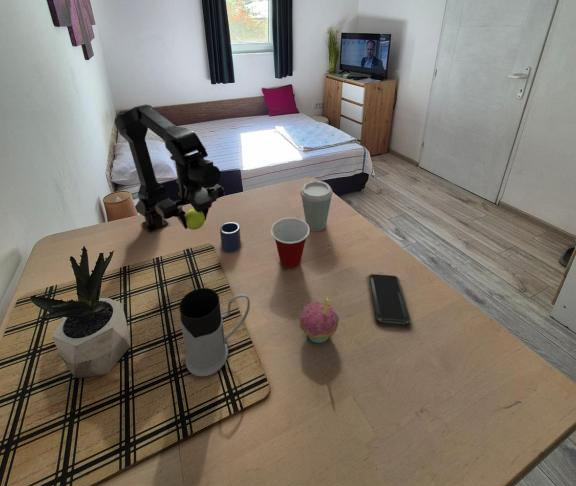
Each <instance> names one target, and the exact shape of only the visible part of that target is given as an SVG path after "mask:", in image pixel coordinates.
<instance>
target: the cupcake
mask: <svg viewBox="0 0 576 486" xmlns="http://www.w3.org/2000/svg"><path fill="white" fill-rule="evenodd" d="M330 300H331V299H330V296H328V297H327V298H326V299H325V302H319V301H314V302H309V303H308V304H306V305H304V307H303V308H302V309H301V311H300V313H299V315H298V316H299V318H298V319H299V327H300V329H301V331H302V332H303V333H304V334H305V335H307V337H308V338H309V340H311V342H313V343H316V344H322V343H325V342H327V340H328V339H329V338H330V337H332V336H334V334H335V333H336V332H337V329H338V325H339V321H340V320H339V315H338V313H337V312H336V311H335V310H334V308H333V307H331V305H330V304H329V303H330Z"/></svg>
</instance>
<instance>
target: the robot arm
mask: <svg viewBox="0 0 576 486" xmlns="http://www.w3.org/2000/svg"><path fill="white" fill-rule="evenodd" d="M114 126H115V128H116V129H117V130H118V133H119V135H120V136H121V137H123V139H125V140H126V141H127V143H128V146H129V150H130V153H131V157H132V159H133V163H134V166H135V171H136V174H137V177H138V180H139V184H140V186H139V187H138V192H137V197H138V201H137V203H136V204H135V206H134V208H135V210H136V213H137V214H139V215H141V216H142V217H144V221H143V222H141V225H142V226H143V227H144V228H145V229H146V230H147V231H148V232H150V233H151V232H153V231H156V230H158V229H160V228H163V227H165V226H167V225H169V222H168V221H167V220H169V219H172V218H173V217H174V218H177V219H178V221H179V222H180V224H181V226H182V227H183V228H184V229H185V230H187V229H188V228H187V223H186V219H185V214H186V213H187V211H185V210H184V209H183V206H187V205H189V204H190V205H191V207H192V209H195V211H197V212H201V211H202V212H203V214H204V216H205V221H206V220H207V217H208V213H209V210H210V209H211V208H212V207H213V203H214V202H217V199H219V198H221V197H225V188H224V187H223V186H222V185H220V184H218V183H219V181H220V179H221V173H222V172H221V171H220V168H219V167H218V166H216V165H214V161H213V160H208V159H205V158H207V157H208V156H209V154H208V152H207V151H206V150H207V149H206V147H205V145H203V143H202V141H201V139H200V138H199V136H198V135H197V133H196V132H194V131H193V130H191V129H190V128H187V127H183V126H177V125H175V124H173V123H172V122H171V121H169V120H168V119H167V118H165V116H163V115H161V114H160V113H159V112H157V111H156V110H155V109H154V108H153V106H152V105H151V104H147V103H146V104H142V105H138V106H134V107H132V108H130V110H127V111H125V112H122V113H118V114H116V118H114ZM148 130H150V131H151V132H153V134H155V135H156V136H158V137H159V138H160V139H161V140H163V142H164V146H165V147H164V148H165V149H166V150H167V151H168V153H170V154H171V156H170V160H172V161H174V164H175V171H176V176H177V178H176V179H175V182H176V183H177V184H178V190H179V191H178V192H177V196H178V197H180V199H176V200H172V199H171V198H169V196H168V193H167V190H166V189H167V188H166V187H165V186H164V185H161V183H159V182H158V180H157V177H156V173H155V169H154V166H153V163H152V159H151V156H150V151H149V149H148V144H147V142H146V136H147V134H148Z"/></svg>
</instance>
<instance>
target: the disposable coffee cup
mask: <svg viewBox="0 0 576 486" xmlns="http://www.w3.org/2000/svg"><path fill="white" fill-rule="evenodd" d="M299 194H300V197H301V202H302V207H303V215H304V218H305V220H304V221H305V222H306V223H307V224H308V226H309V228H310V230H311V231H314V232H320V231H322V230H324V229H325V228H326V226H327V222H328V218H329V212H330V206H331V201H332V197H333V194H334V192H333V189H332V188H331V185H329V183H327V182H324V181H322V180H312V181H311V180H310V181H307V182H306V183H304V184H303V185H302V187H301V189H300V192H299Z"/></svg>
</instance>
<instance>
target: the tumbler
mask: <svg viewBox="0 0 576 486" xmlns="http://www.w3.org/2000/svg"><path fill="white" fill-rule="evenodd" d="M219 233H220V243H221V248H222V251H223V252H226V253H235V252H237V251H239V250H240V249H241V247H242V241H241V226H240V224H239V223H237V222H235V221H230V222H225V223H223V224H221V226H220V228H219Z"/></svg>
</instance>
